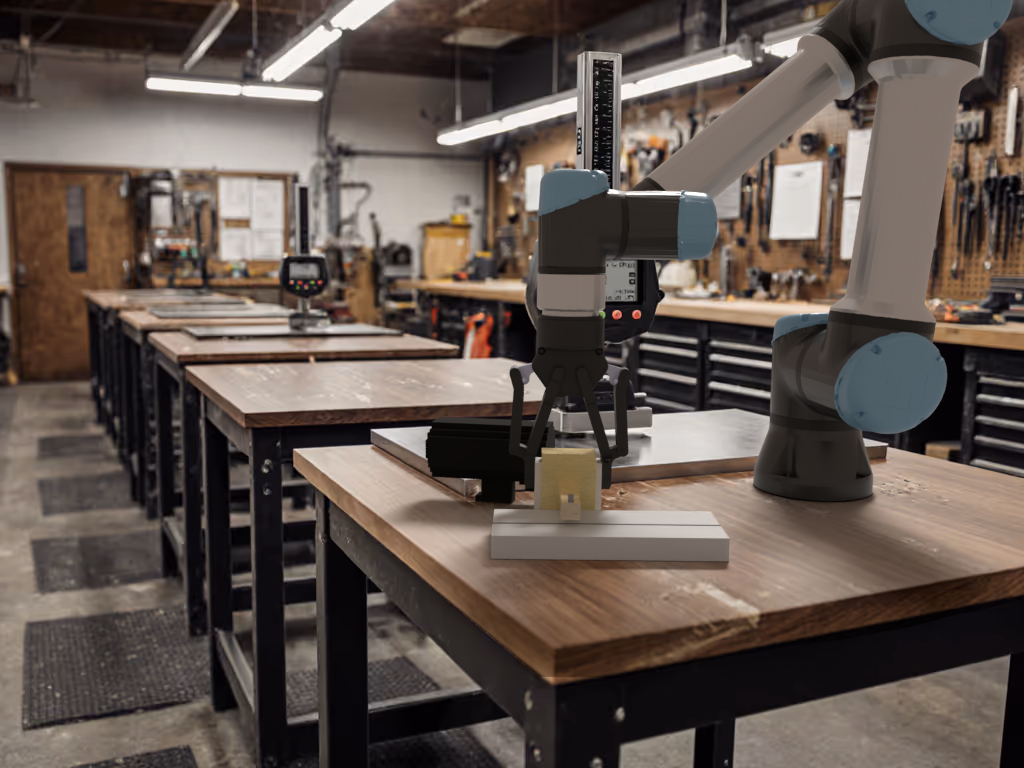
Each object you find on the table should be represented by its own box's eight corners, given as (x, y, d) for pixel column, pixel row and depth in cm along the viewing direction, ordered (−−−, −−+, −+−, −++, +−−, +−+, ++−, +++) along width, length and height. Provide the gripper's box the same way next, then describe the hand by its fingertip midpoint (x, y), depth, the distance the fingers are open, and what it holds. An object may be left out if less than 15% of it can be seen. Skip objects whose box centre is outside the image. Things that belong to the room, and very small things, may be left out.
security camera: (570, 512, 113) (572, 430, 112) (422, 503, 117) (421, 423, 115) (578, 498, 120) (579, 420, 119) (437, 490, 124) (437, 414, 122)
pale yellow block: (592, 517, 109) (594, 448, 108) (599, 543, 99) (600, 468, 98) (540, 516, 109) (541, 447, 108) (541, 542, 99) (542, 467, 98)
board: (709, 532, 105) (710, 510, 105) (728, 561, 96) (729, 537, 95) (494, 530, 106) (494, 508, 106) (490, 558, 96) (490, 535, 96)
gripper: (652, 311, 108) (646, 508, 112) (486, 310, 109) (485, 506, 112) (661, 316, 101) (654, 526, 104) (483, 314, 101) (482, 524, 104)
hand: (566, 515), depth 108 cm, fingers closed on pale yellow block, 6 cm apart
